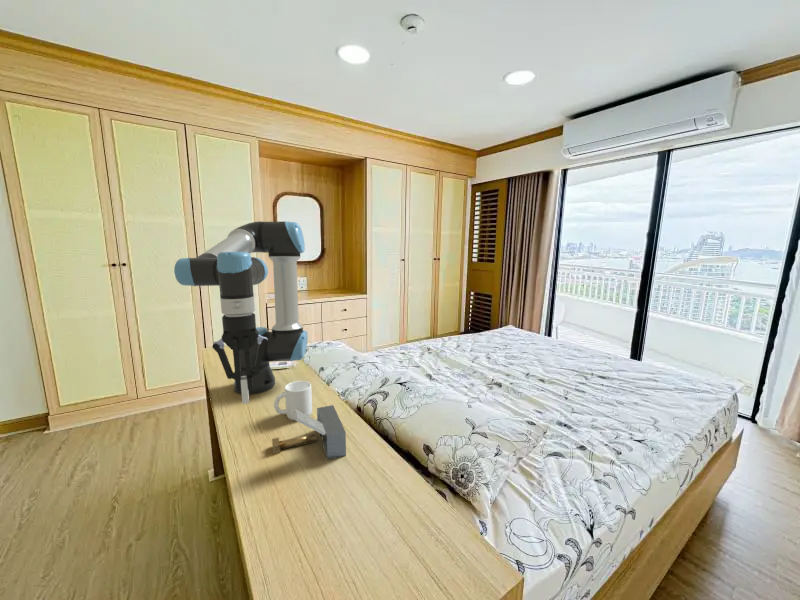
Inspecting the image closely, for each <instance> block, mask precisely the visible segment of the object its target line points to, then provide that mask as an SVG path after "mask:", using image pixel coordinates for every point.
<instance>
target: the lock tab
mask: <svg viewBox="0 0 800 600" xmlns="http://www.w3.org/2000/svg"><path fill="white" fill-rule="evenodd" d="M294 414H295V419H296V420H295V421H296V422H298V423H300V424H302V425H304V426H305V427H307V428H310V429H311V430H313V431H316V432H318V434H319V433H321V434H323V435H325V433H326V432H325V429H324V427H323V424H322V423H320V422H319V421H317V420H316V419H315V418H313V417H311V416H307V415H306V414H304V413H302V412H300V411H298V410H296V409H295V410H294Z"/></svg>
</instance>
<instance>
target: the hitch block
mask: <svg viewBox="0 0 800 600" xmlns="http://www.w3.org/2000/svg"><path fill="white" fill-rule="evenodd" d="M316 416H317V417H316V419H317V421H319V422H320V423H322V424H323V427H324V429H325V432H326V433H325V435H323V434H321V433H319V432H318V434H319V437H321V440H322V446H323V450H324V452H325V455H326V459H327V461H328V460H329V461H330V460H333V459H337V458H340V457H341V458H342V457H344V456H347V444H346V443H347V441H346V440H347V439H346V429H345V428H344V425H343V424H342V421H341V419H340V417H339V415H338V413H337V410H336V408H335V406H334V404H332V405H327V406H320V407H317V408H316Z"/></svg>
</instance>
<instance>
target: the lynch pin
mask: <svg viewBox="0 0 800 600" xmlns="http://www.w3.org/2000/svg"><path fill="white" fill-rule="evenodd" d="M271 442H272V443H271V444H272V455H278V454H281V450H285V449H289V448H292V447H299V446H302V445H306V444H312V443H315V442H317V434H316V433H312V434H308V435H307V434H306V435H302V436H298V437H293V438H288V439H284V440H280V437H274V438H271Z"/></svg>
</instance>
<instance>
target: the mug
mask: <svg viewBox="0 0 800 600" xmlns="http://www.w3.org/2000/svg"><path fill="white" fill-rule="evenodd" d="M312 393H313V392H312V384H311V382H309V381H307V380H296V381H295V380H294V381H292V382H290V383H287V384H286V385H285V386H284V391H283V392H281V393H280V394H278V395H277V396H276V398H275V400H274V402H273V405H274V407H273V408H274V409H275V412H276V413H278V414H280V415H286V416H287V418H288V419H289V420H291V421H296V419H295V414H294V410H295V409H296V410H298V411H300V412H302V413H304V414H306V415H307V416H309V417H311V415H312V413H313V398H312V397H313V396H312V395H313V394H312ZM283 398H285V408H286V409H281V408H280V406H279V403H280V401H281V399H283Z"/></svg>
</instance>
